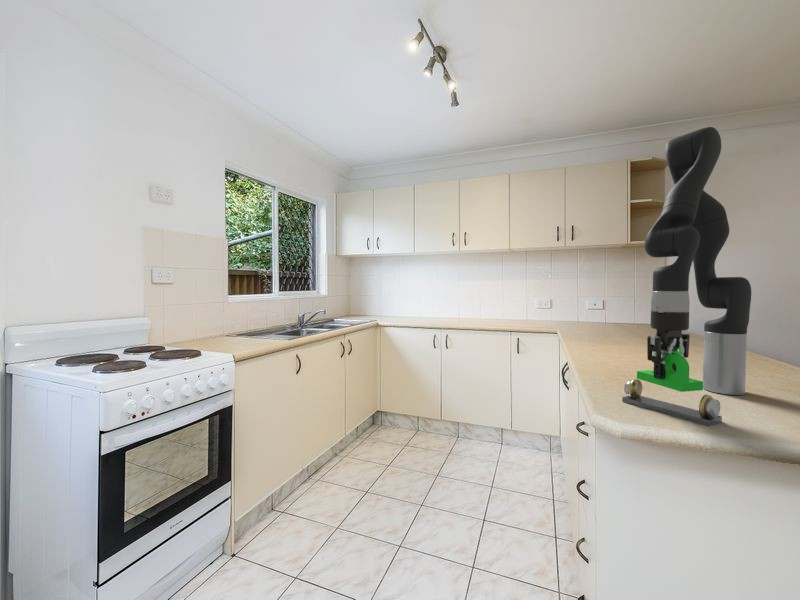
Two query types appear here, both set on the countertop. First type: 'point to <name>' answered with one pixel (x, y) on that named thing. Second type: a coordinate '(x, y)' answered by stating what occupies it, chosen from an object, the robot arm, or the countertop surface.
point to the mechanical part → (673, 375)
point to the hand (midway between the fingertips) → (667, 376)
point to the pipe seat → (704, 415)
